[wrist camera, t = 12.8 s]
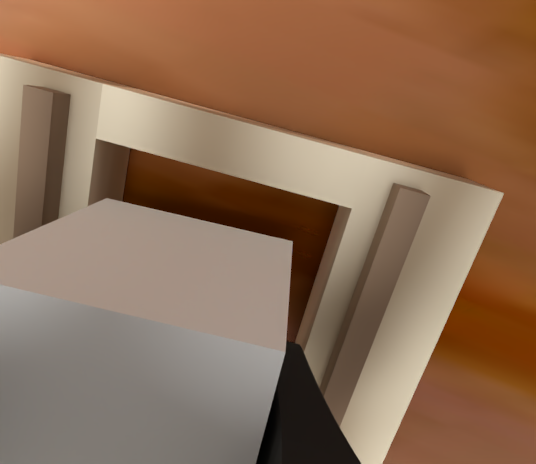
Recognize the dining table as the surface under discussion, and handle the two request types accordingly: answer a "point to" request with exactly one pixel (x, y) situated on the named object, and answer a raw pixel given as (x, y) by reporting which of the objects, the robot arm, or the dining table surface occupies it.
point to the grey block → (139, 339)
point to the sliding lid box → (279, 176)
